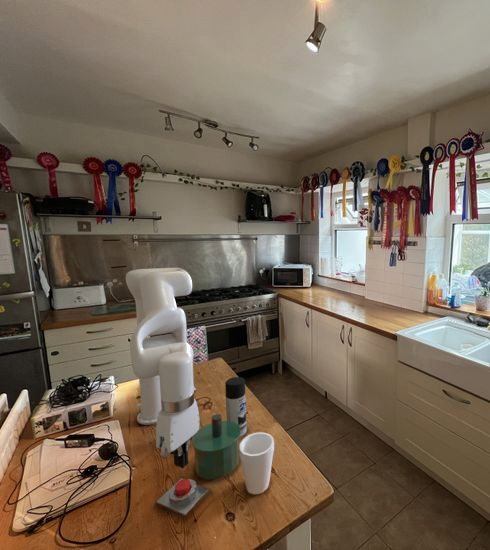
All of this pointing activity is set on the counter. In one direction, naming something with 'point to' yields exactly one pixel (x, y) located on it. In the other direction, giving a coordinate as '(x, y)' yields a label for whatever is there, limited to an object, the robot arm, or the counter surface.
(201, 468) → the green pot
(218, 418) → the pot lid
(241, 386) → the spray can
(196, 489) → the grey mounting plate
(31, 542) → the counter surface
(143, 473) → the counter surface
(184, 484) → the button
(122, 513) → the counter surface
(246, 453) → the foam cup
